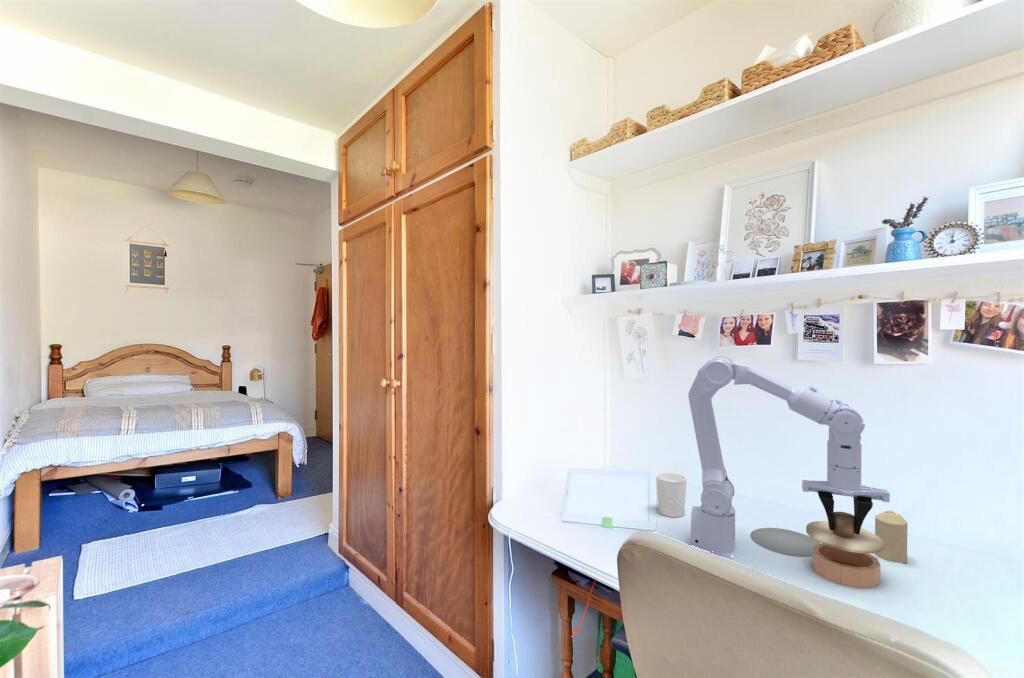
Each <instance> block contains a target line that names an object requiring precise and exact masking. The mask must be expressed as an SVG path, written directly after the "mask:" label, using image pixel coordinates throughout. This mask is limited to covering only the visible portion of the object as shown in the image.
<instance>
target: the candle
mask: <svg viewBox="0 0 1024 678" xmlns="http://www.w3.org/2000/svg"><path fill="white" fill-rule="evenodd" d="M874 517H875V518H874V534H875V535H877V536H878V537H880V538H881V539H882V540H883V542H884V549H883V550H882V551H881V552H878V553H874V554H875V555H876V557H878V558H880V559H883V560H885V561H888V562H893V563H900V564H904V565H905V564H906V563H907V562H908V521H907V520H906V519H905V517H903V516H902V515H901V514H897V512H894V511H893V510H885V511H883V512H881V513H878V514H876V515H875V516H874Z"/></svg>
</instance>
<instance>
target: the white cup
mask: <svg viewBox="0 0 1024 678" xmlns="http://www.w3.org/2000/svg"><path fill="white" fill-rule="evenodd" d="M655 477H656V478H655V479H656V480H655V481H656V495H657V496H656V499H657V511H658V513H659V514H660V515H662V516H664V517H670V518H680V517H683V516H684V515H685V508H686V507H685V505H686V497H687V496H686V494H687V477H686V476H685V475H684V474H682V473H681V474H680V473H676V472H670V471H669V472H659V473H657V474H656V475H655Z"/></svg>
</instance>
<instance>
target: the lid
mask: <svg viewBox="0 0 1024 678" xmlns="http://www.w3.org/2000/svg"><path fill="white" fill-rule="evenodd" d="M833 517H834V531H833V530H830V529H829V524H828V520H819V521H818V520H817V521H812V522H809V523H808V524H806V527H805V533H806V535H807V536H809V537H811V538H813V539H814V540H816V541H818V542H820V543H821V544H824V545H827V546H829V547H832V548H836V549H839V550H843V551H848V552H854V553H866V554H875V553H878V552H881V551H882V550H883V549H884V542H883V540H882V539H881V538H880V537H878V536H877V535H875V532H872V531H870V530H867V529H865V528H862V527H861V529H860V534H859V535H858V534H855V532H854V530H855V516H854V514H852V513H849V512H844V511H834V514H833Z"/></svg>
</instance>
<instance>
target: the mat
mask: <svg viewBox="0 0 1024 678" xmlns="http://www.w3.org/2000/svg"><path fill="white" fill-rule="evenodd" d="M749 536H750V537H749V538H750V539H751V540H752V542H754V543H755V544H756V545H758V546H759V547H761V548H763V549H764V550H768V551H770V552H772V553H776V554H780V555H783V556H784V555H785V556H790V557H797V558H813V547H814V546H816V545H818V544H822V543H820V542H818V541H816V540H814V539H813V538H811V537H810V536H809V535H808V534H804V533H801V532H798V531H796V530H795V531H794V530H790V529H786V528H785V529H784V528H779V527H761V528H757V529H753V530H752V531H751V532H750V534H749Z"/></svg>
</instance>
